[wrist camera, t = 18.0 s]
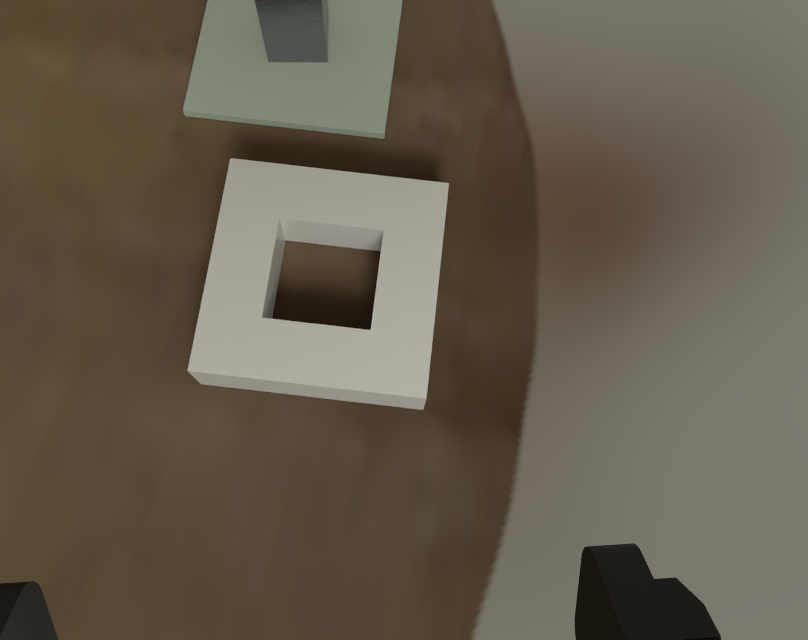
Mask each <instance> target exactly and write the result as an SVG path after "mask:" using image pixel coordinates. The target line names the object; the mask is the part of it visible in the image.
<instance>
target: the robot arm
mask: <svg viewBox="0 0 808 640" xmlns="http://www.w3.org/2000/svg"><path fill="white" fill-rule="evenodd" d="M575 635H576V640H721V636H720V634H719V632H718V630H717V628H716V626H715V625H714V623H713V621H712V619H711V617H710V615H709V613H708V611H707V609H706V607H705V605H704V604H703V603H702V602H701V601H700V600H699V599H698V598H697V597H696V596H694V594H692V593H691V592H690V591H689V590H688V589H687V588H686V587H685V586H684V585H683V584H682V583H681V582H680V581H679V580H678V579H677V578H665V579H654V578H653V576H652V574H651V572H650V570H649V568H648V566H647V563H646V561H645V559H644V557H643V555H642V553H641V551H640V549H639V548H638V547H637V545H636V544H619V545H604V546H589V547H585V548H584V549H583V552H582V558H581V567H580V576H579V585H578V594H577V603H576V611H575ZM0 640H58V638H57V635H56V632H55V629H54V626H53V623H52V620H51V617H50V614H49V611H48V608H47V605H46V602H45V599H44V596H43V593H42V590H41V588H40V586H39V584H37V583H36V582H34V581H32V582H16V583H1V584H0Z"/></svg>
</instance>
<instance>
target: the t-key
mask: <svg viewBox="0 0 808 640" xmlns="http://www.w3.org/2000/svg"><path fill="white" fill-rule="evenodd" d="M255 5H256V9H257V14H258V18H259V23H260V27H261V32H262V36H263V41H264V45H265V49H266V54H267V58H268V62H328V2H327V0H255Z"/></svg>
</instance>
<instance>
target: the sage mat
mask: <svg viewBox="0 0 808 640" xmlns="http://www.w3.org/2000/svg"><path fill="white" fill-rule="evenodd" d="M327 2H328V62H268V58H267V54H266V49H265V45H264V41H263V36H262V32H261V27H260V23H259V18H258V14H257V9H256V5H255V0H208V1H207V5H206V10H205V14H204V19H203V23H202V27H201V32H200V36H199V41H198V45H197V50H196V54H195V58H194V63H193V67H192V72H191V76H190V80H189V85H188V89H187V94H186V98H185V102H184V107H183V113H184V115H185V116H187V117H196V118H205V119H214V120H222V121H231V122H240V123H249V124H257V125H266V126H275V127H284V128H292V129H301V130H310V131H318V132H327V133H336V134H345V135H353V136H362V137H371V138H380V139H384V138H385V131H386V123H387V116H388V108H389V101H390V94H391V86H392V79H393V71H394V64H395V56H396V49H397V42H398V34H399V27H400V19H401V12H402V5H403V0H327Z"/></svg>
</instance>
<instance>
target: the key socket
mask: <svg viewBox="0 0 808 640" xmlns="http://www.w3.org/2000/svg"><path fill="white" fill-rule="evenodd" d="M448 187H449V183H443V182H434V181H425V180H417V179H408V178H399V177H391V176H382V175H373V174H364V173H356V172H347V171H338V170H330V169H321V168H312V167H303V166H295V165H286V164H277V163H269V162H260V161H251V160H243V159H234V158H230V162H229V167H228V172H227V177H226V182H225V187H224V192H223V197H222V202H221V207H220V212H219V217H218V222H217V227H216V232H215V237H214V242H213V247H212V252H211V257H210V262H209V267H208V272H207V277H206V282H205V287H204V292H203V297H202V301H201V306H200V311H199V316H198V321H197V326H196V331H195V336H194V341H193V346H192V351H191V356H190V361H189V366H188V372H189V373H190V374H191V375H192V376H193V377H194V378H195V379H196V380H197V381H198V382H199V383H200V384H205V385H213V386H222V387H231V388H239V389H248V390H256V391H265V392H274V393H282V394H291V395H299V396H308V397H317V398H325V399H334V400H342V401H351V402H360V403H368V404H377V405H386V406H394V407H403V408H411V409H420V410H423V409H424V405H425V402H426V397H427V388H428V378H429V369H430V359H431V349H432V340H433V330H434V321H435V311H436V302H437V292H438V283H439V273H440V263H441V254H442V244H443V235H444V225H445V216H446V206H447V197H448ZM286 240H287V241H296V242H304V243H313V244H322V245H330V246H339V247H348V248H356V249H365V250H374V251H381V254H380V261H379V269H378V277H377V284H376V292H375V300H374V308H373V315H372V323H371V330H365V329H356V328H348V327H339V326H331V325H322V324H313V323H305V322H296V321H287V320H279V319H272V318H273V312H274V306H275V300H276V294H277V289H278V283H279V277H280V271H281V265H282V259H283V253H284V248H285V242H286Z"/></svg>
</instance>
